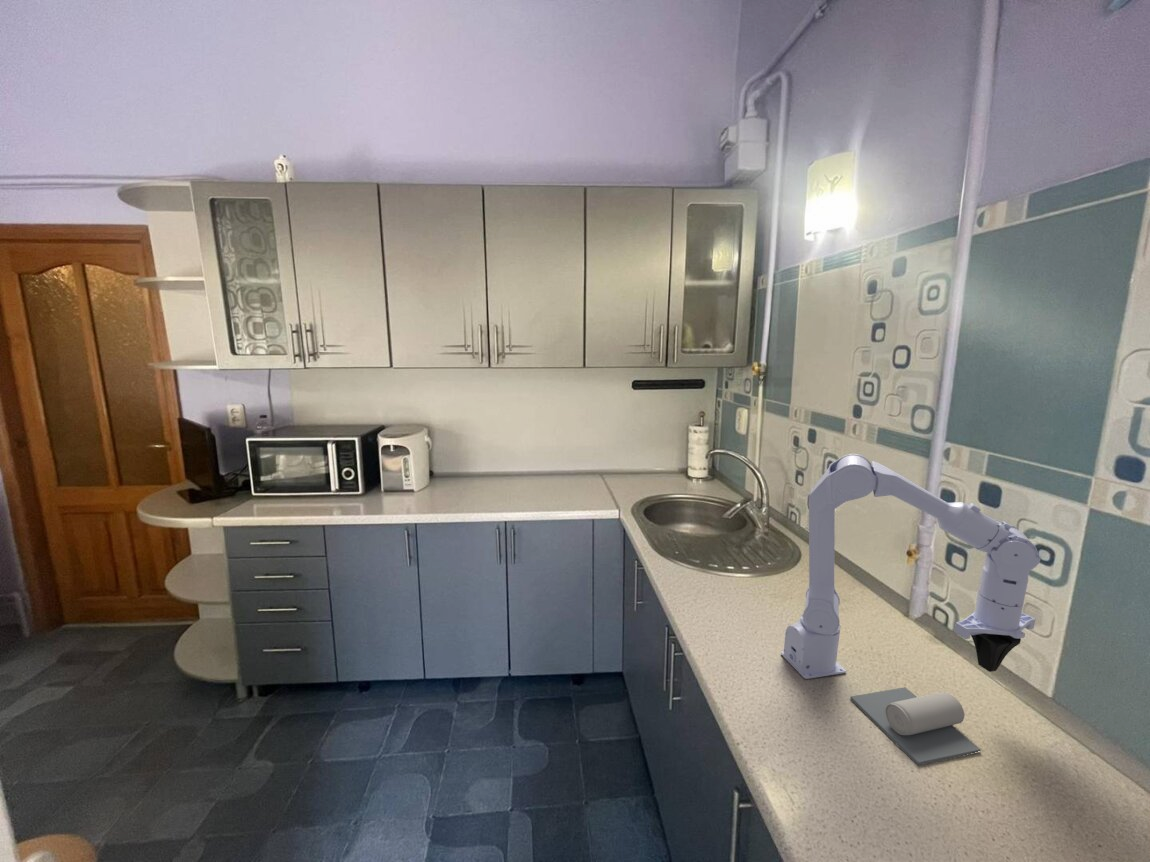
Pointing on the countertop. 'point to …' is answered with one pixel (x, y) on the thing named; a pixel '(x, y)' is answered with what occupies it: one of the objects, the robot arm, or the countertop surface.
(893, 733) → the mat
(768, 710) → the countertop surface
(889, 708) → the beverage can
